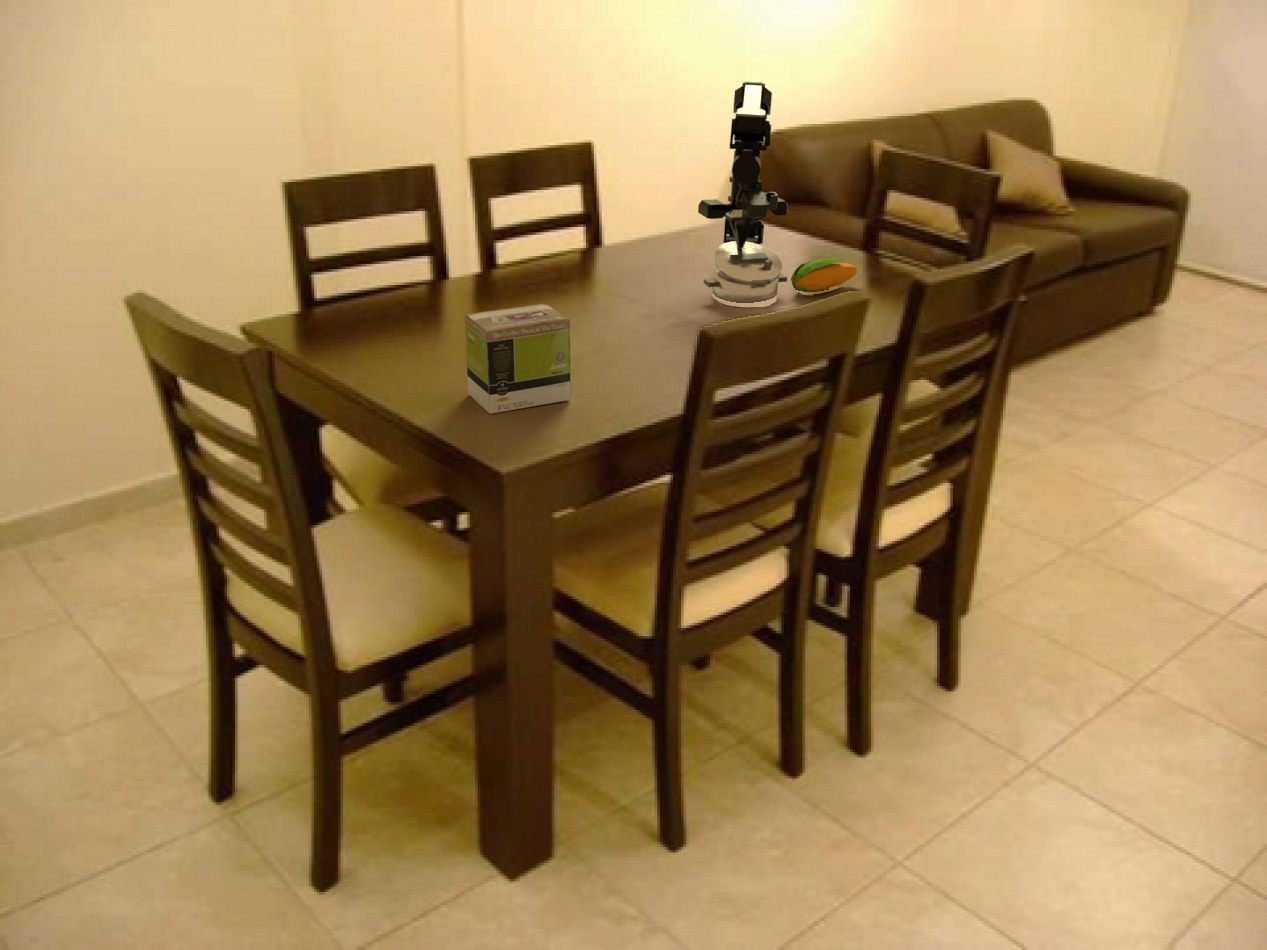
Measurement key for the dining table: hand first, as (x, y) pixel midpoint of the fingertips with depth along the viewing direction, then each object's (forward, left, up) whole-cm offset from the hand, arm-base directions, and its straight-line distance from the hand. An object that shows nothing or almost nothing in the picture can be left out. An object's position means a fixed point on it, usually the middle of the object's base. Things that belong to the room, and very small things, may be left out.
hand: (740, 247), depth 258 cm
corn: (+3, +20, -11) cm, 23 cm away
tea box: (+47, -62, -11) cm, 79 cm away
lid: (+4, 0, -3) cm, 5 cm away
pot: (+4, 0, -10) cm, 11 cm away
